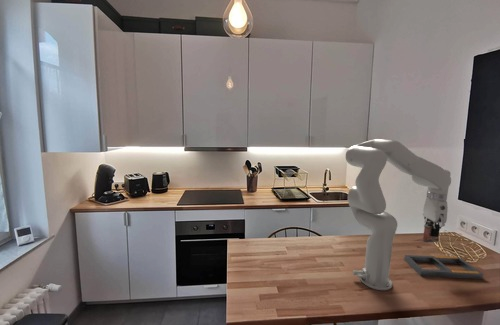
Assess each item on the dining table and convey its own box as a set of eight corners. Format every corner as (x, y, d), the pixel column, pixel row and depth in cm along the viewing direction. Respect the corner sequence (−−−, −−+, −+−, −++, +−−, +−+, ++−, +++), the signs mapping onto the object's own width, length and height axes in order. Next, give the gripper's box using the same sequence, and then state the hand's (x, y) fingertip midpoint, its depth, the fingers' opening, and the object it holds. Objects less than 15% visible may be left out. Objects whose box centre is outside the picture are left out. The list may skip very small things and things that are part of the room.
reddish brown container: (426, 242, 117) (429, 222, 116) (420, 239, 121) (423, 219, 119) (440, 241, 120) (443, 220, 118) (433, 238, 123) (436, 218, 121)
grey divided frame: (420, 276, 116) (421, 270, 116) (404, 259, 130) (404, 254, 129) (482, 279, 114) (483, 273, 114) (459, 262, 128) (459, 257, 128)
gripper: (458, 202, 108) (452, 242, 111) (433, 191, 125) (428, 227, 128) (440, 201, 109) (434, 241, 112) (417, 190, 125) (412, 226, 128)
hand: (431, 233), depth 120 cm, fingers closed on reddish brown container, 4 cm apart
